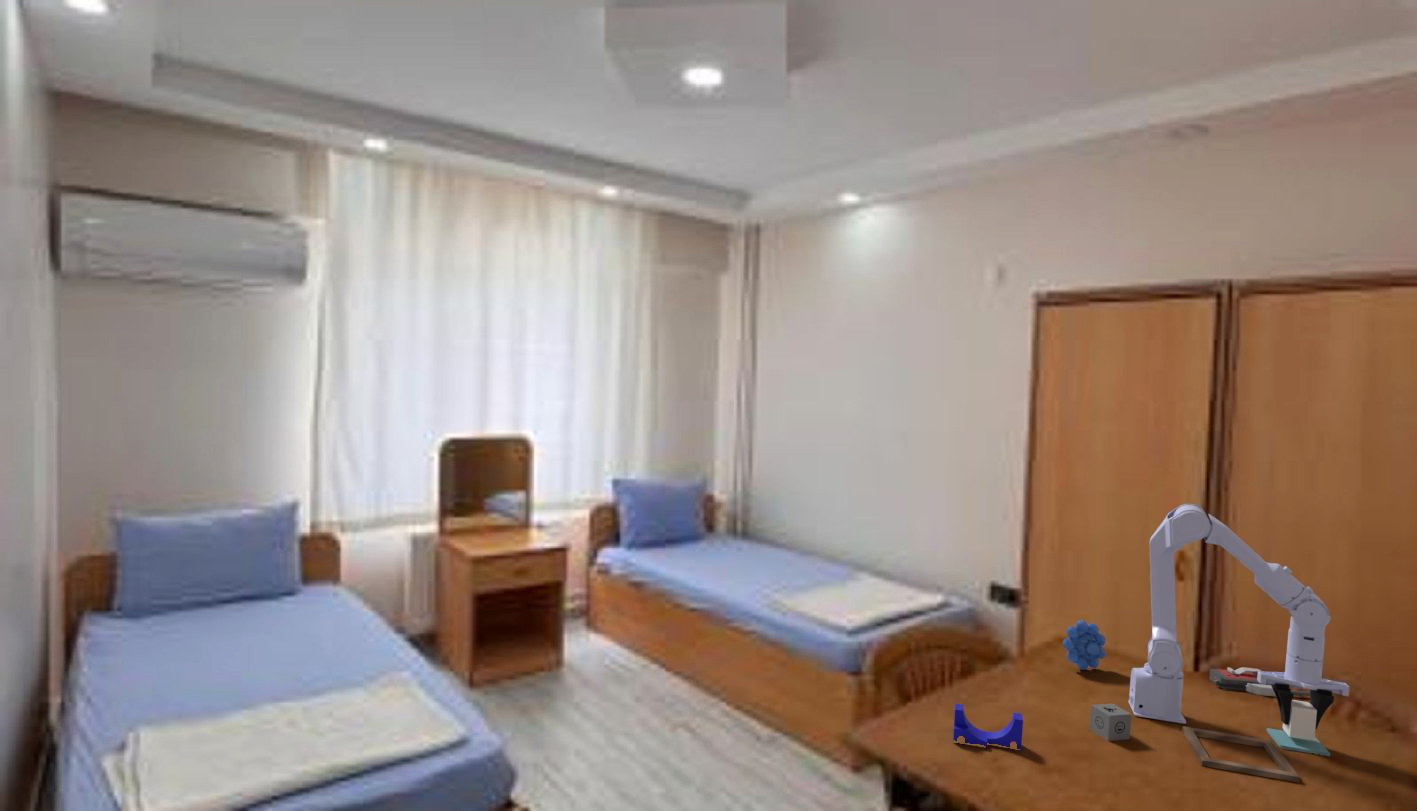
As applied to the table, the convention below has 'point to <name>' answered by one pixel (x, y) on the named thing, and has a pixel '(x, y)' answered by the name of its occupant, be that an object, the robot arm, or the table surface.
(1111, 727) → the dice cube
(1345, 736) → the table surface
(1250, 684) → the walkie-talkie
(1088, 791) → the table surface
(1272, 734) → the mat
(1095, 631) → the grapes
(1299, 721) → the cream block
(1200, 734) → the brown square frame
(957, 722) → the blue cradle stand
